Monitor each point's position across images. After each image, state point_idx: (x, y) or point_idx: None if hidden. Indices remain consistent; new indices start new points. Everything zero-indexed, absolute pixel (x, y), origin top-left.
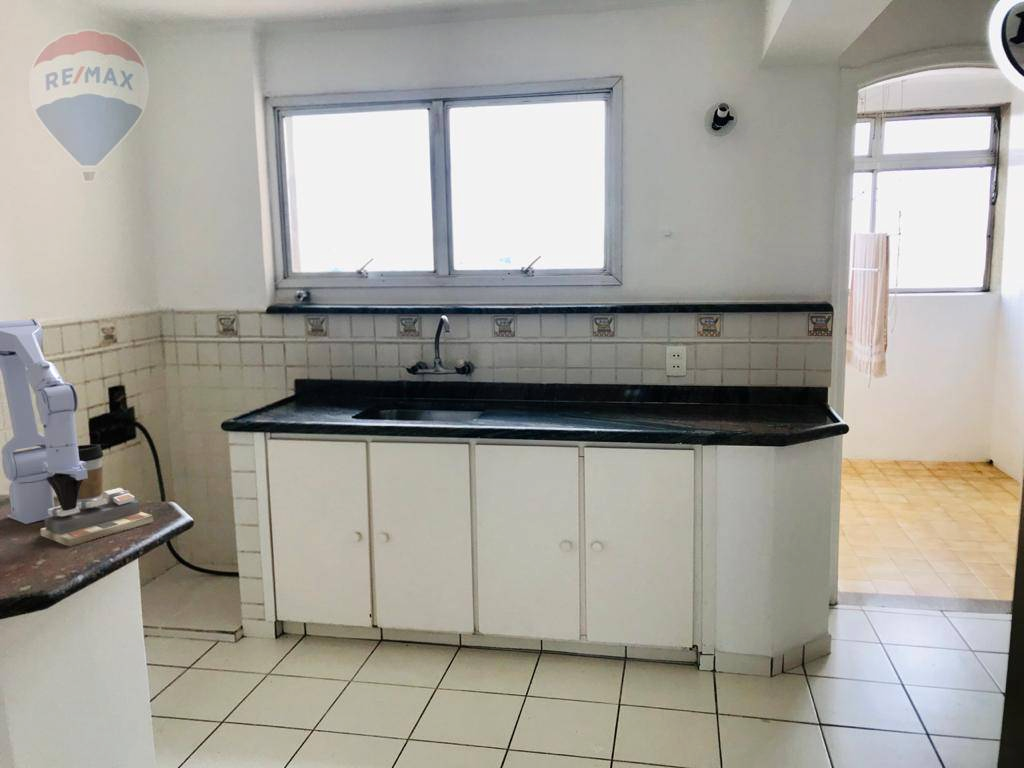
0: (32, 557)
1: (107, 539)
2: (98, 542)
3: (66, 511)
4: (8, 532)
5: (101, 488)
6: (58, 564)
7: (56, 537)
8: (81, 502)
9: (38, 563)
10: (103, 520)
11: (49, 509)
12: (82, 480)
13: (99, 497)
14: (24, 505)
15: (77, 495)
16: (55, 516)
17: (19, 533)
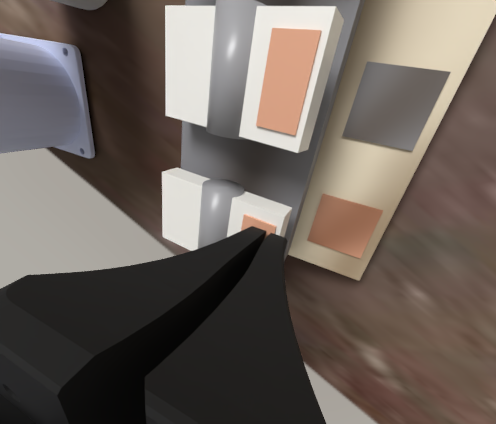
0: (322, 333)
1: (458, 178)
2: (441, 215)
3: None
4: (119, 209)
5: None
6: (450, 378)
7: None
8: (207, 130)
9: (377, 367)
10: (338, 86)
11: (174, 241)
12: (322, 420)
13: (237, 11)
14: (26, 148)
15: (284, 278)
16: None
17: (142, 208)
